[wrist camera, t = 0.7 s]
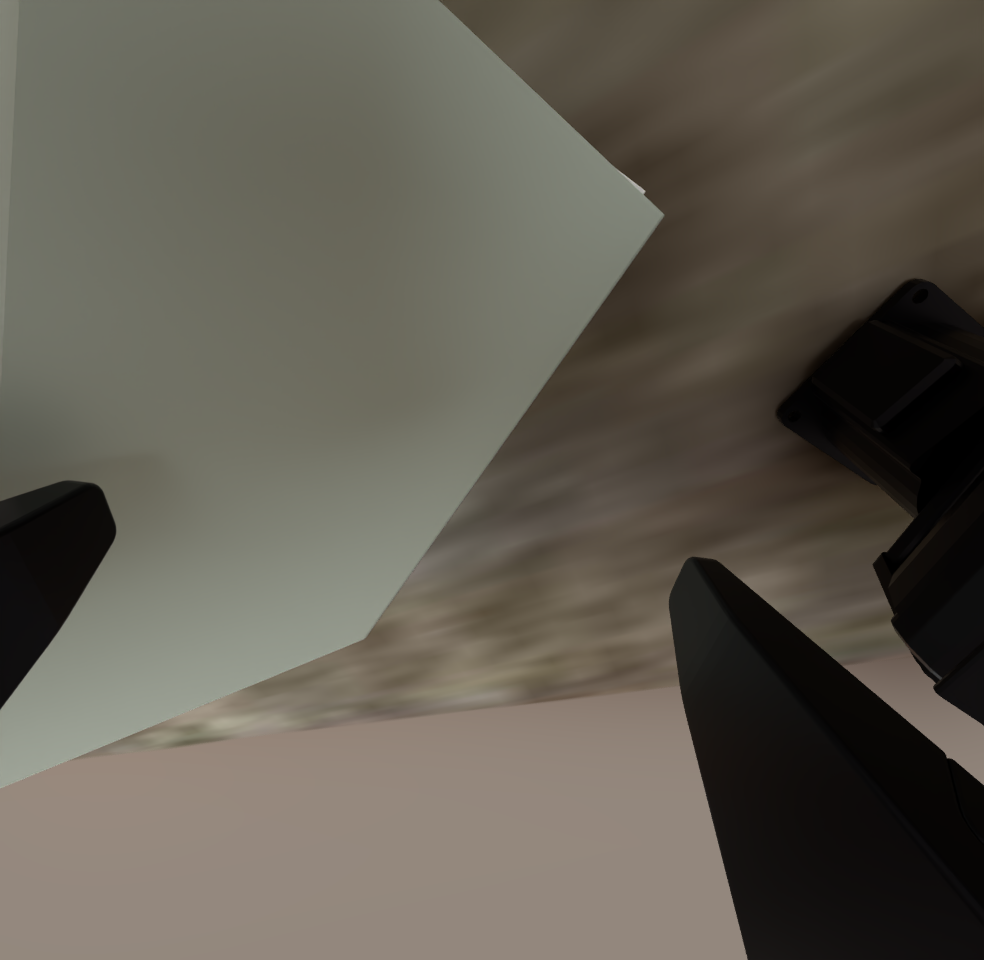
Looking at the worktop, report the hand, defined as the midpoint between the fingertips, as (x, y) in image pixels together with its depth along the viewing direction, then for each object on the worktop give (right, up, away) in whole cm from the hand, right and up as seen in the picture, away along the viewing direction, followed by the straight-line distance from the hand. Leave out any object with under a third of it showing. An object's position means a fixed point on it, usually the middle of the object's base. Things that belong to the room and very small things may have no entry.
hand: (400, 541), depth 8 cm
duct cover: (-3, +1, +6) cm, 6 cm away
